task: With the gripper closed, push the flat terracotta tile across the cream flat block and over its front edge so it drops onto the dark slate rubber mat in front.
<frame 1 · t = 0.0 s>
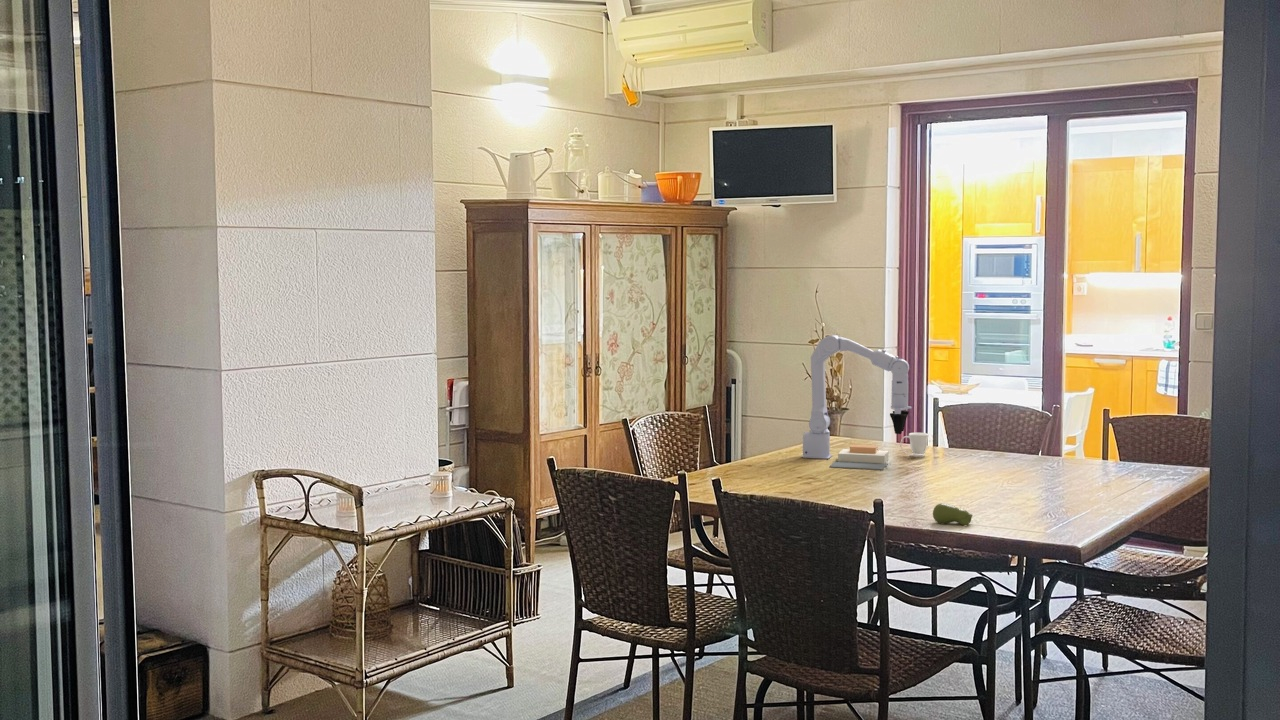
hand: (899, 432, 408), 10 cm above the table, tool pointing down, fingers open, 7 cm apart
cream flat block: (863, 460, 410), on the table
pear: (952, 524, 306), on the table
cup: (914, 456, 421), on the table
tile: (863, 451, 411), point 3 cm above the table, touching cream flat block
mat: (858, 466, 398), on the table
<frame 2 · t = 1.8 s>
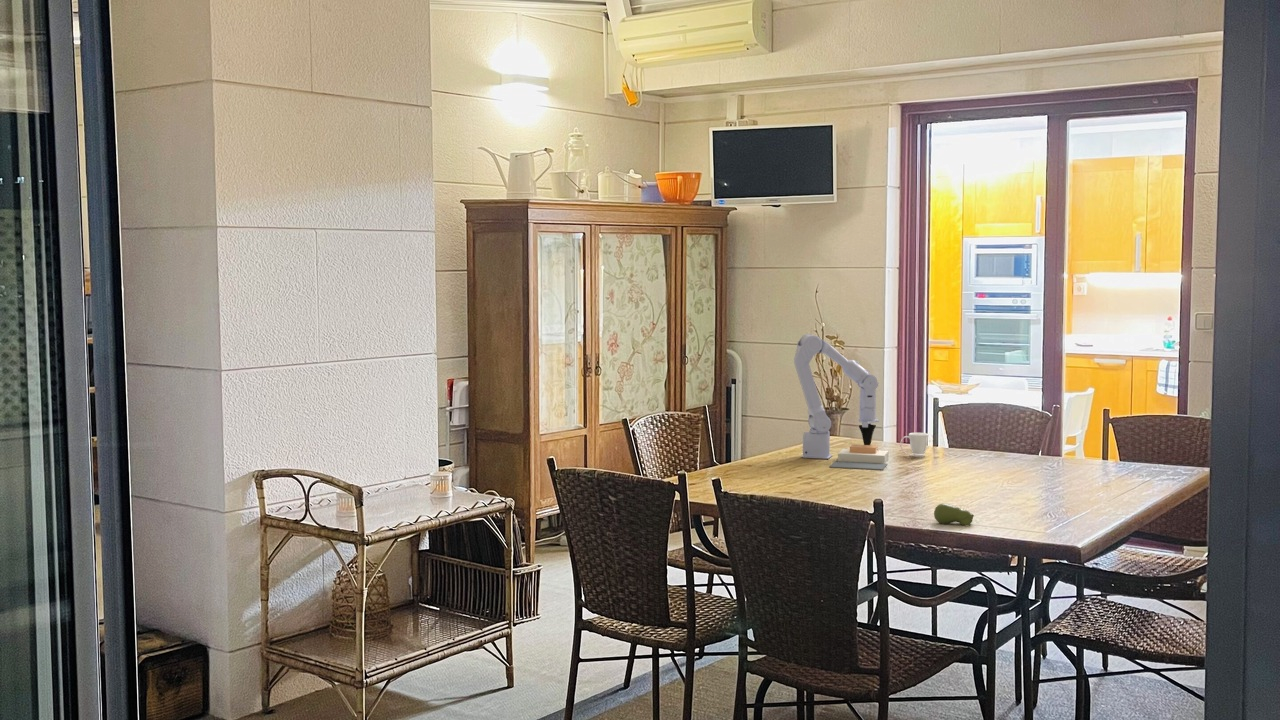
hand: (867, 445, 419), 4 cm above the table, tool pointing down, fingers closed
nothing on the table moved.
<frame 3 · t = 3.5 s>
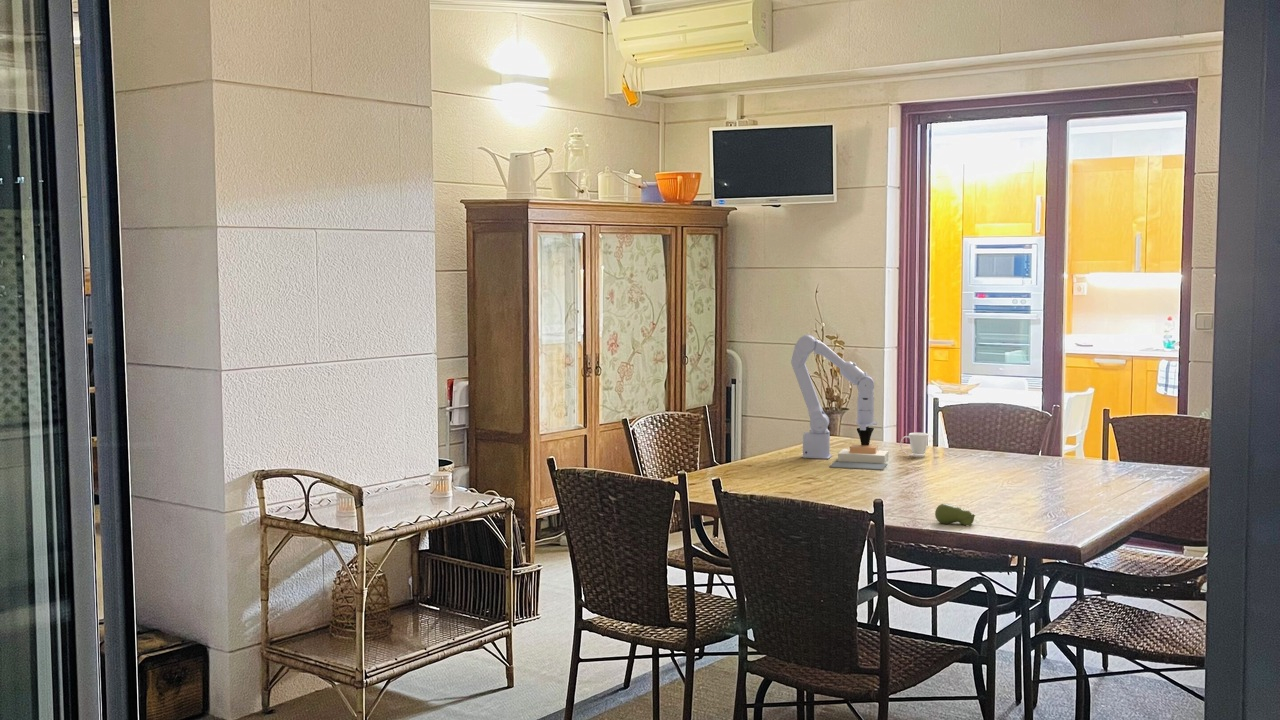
hand: (865, 448, 414), 4 cm above the table, tool pointing down, fingers closed
tile: (863, 452, 410), point 3 cm above the table, touching cream flat block, gripper
everything else where it was.
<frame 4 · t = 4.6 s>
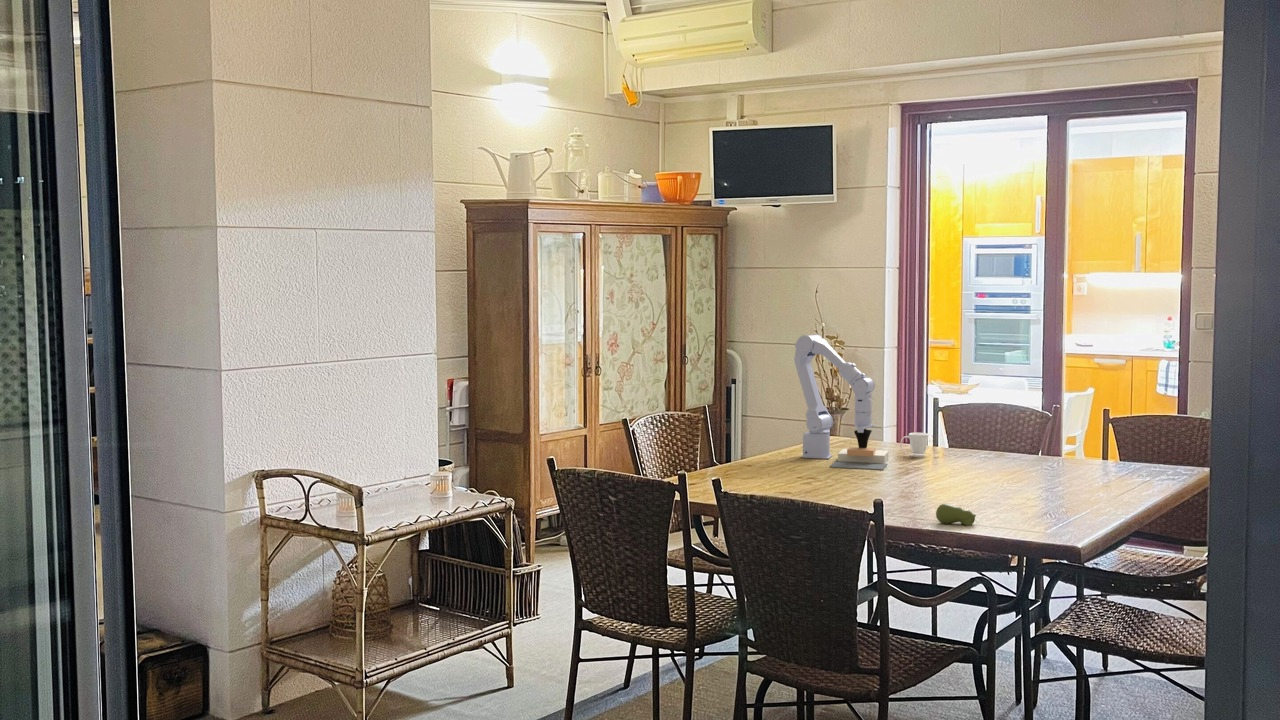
hand: (862, 450, 408), 4 cm above the table, tool pointing down, fingers closed
tile: (861, 454, 404), point 3 cm above the table, touching cream flat block, gripper
everything else where it was.
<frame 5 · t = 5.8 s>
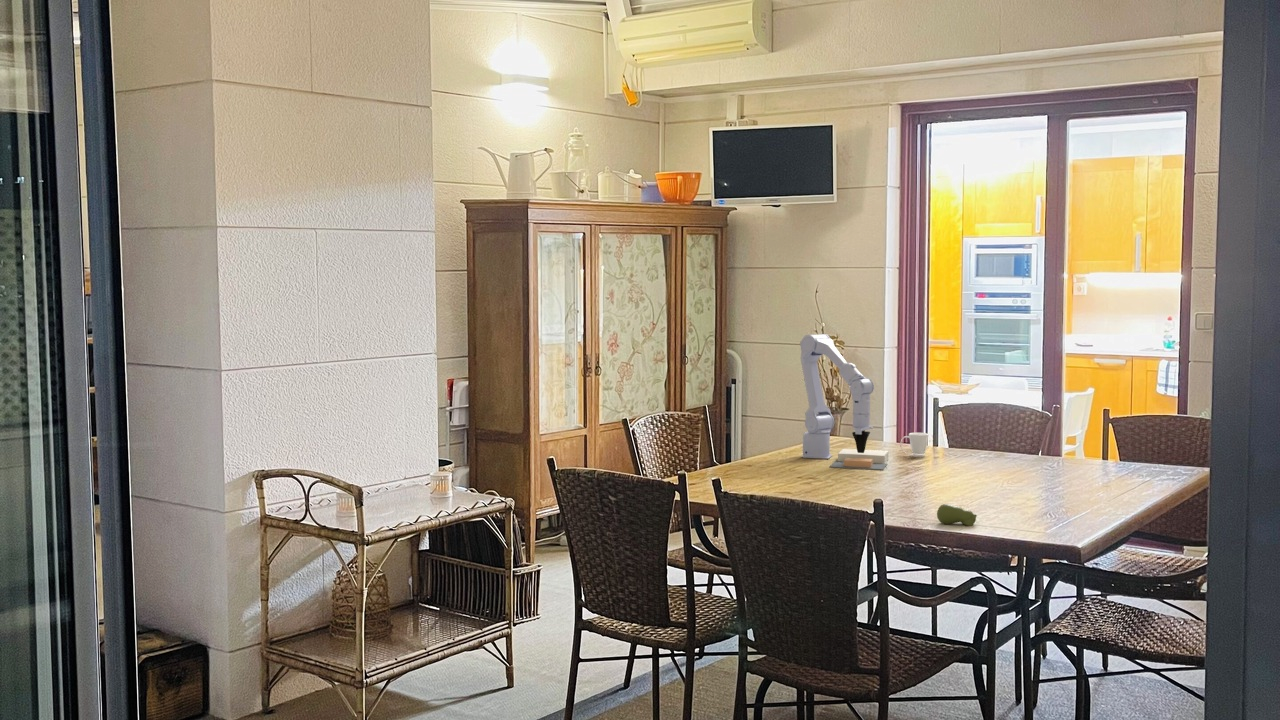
hand: (860, 452, 403), 4 cm above the table, tool pointing down, fingers closed
tile: (858, 459, 397), point 2 cm above the table, tilted 180°, touching mat
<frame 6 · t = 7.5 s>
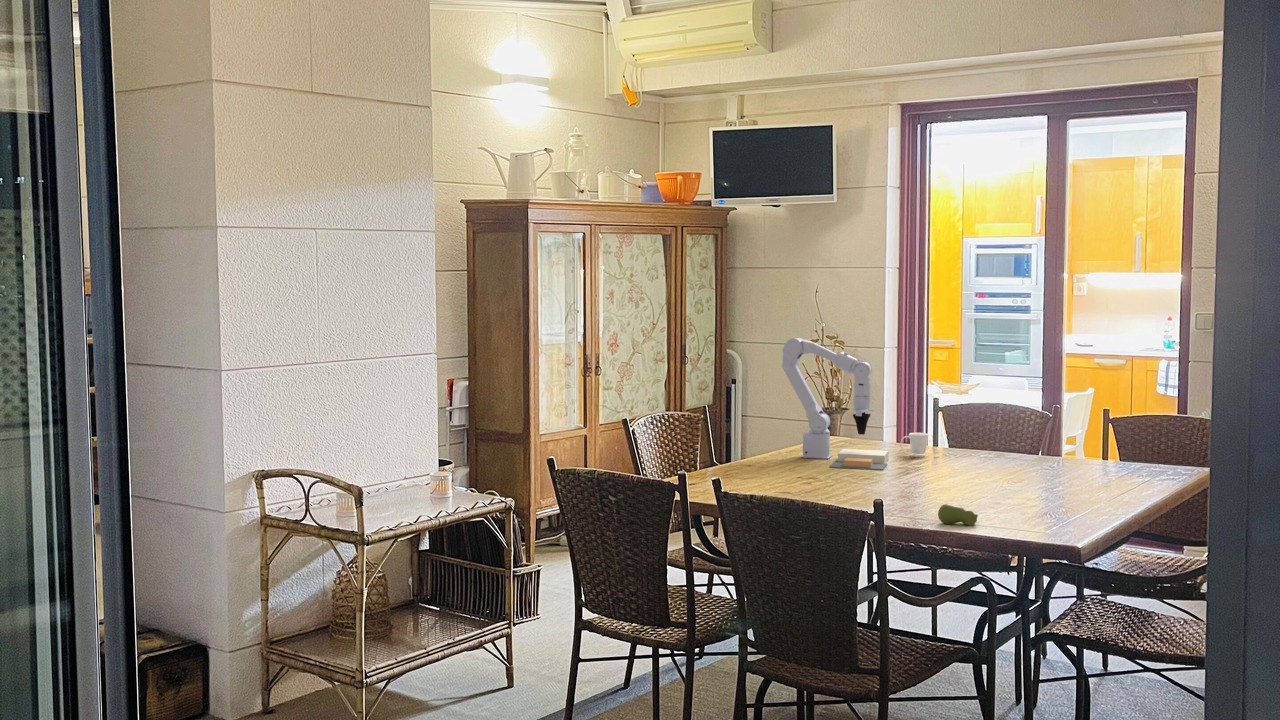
hand: (861, 434, 413), 9 cm above the table, tool pointing down, fingers closed
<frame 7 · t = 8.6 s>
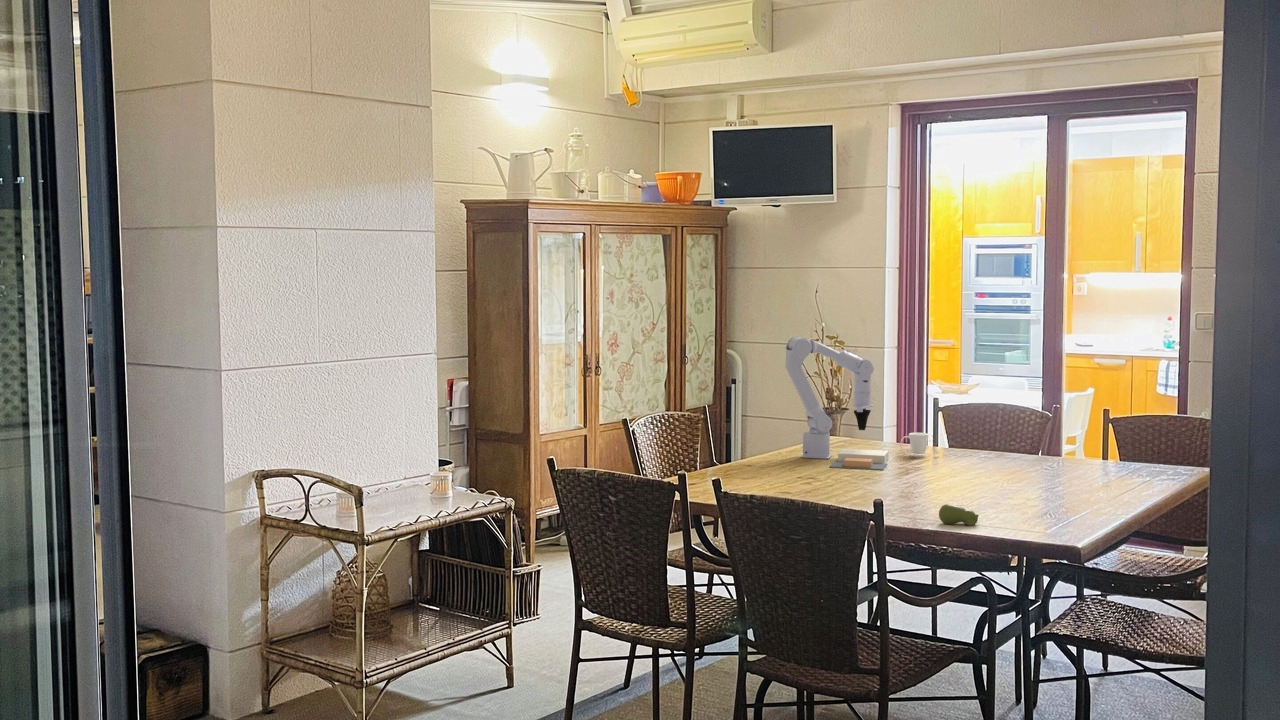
hand: (862, 429, 420), 9 cm above the table, tool pointing down, fingers closed
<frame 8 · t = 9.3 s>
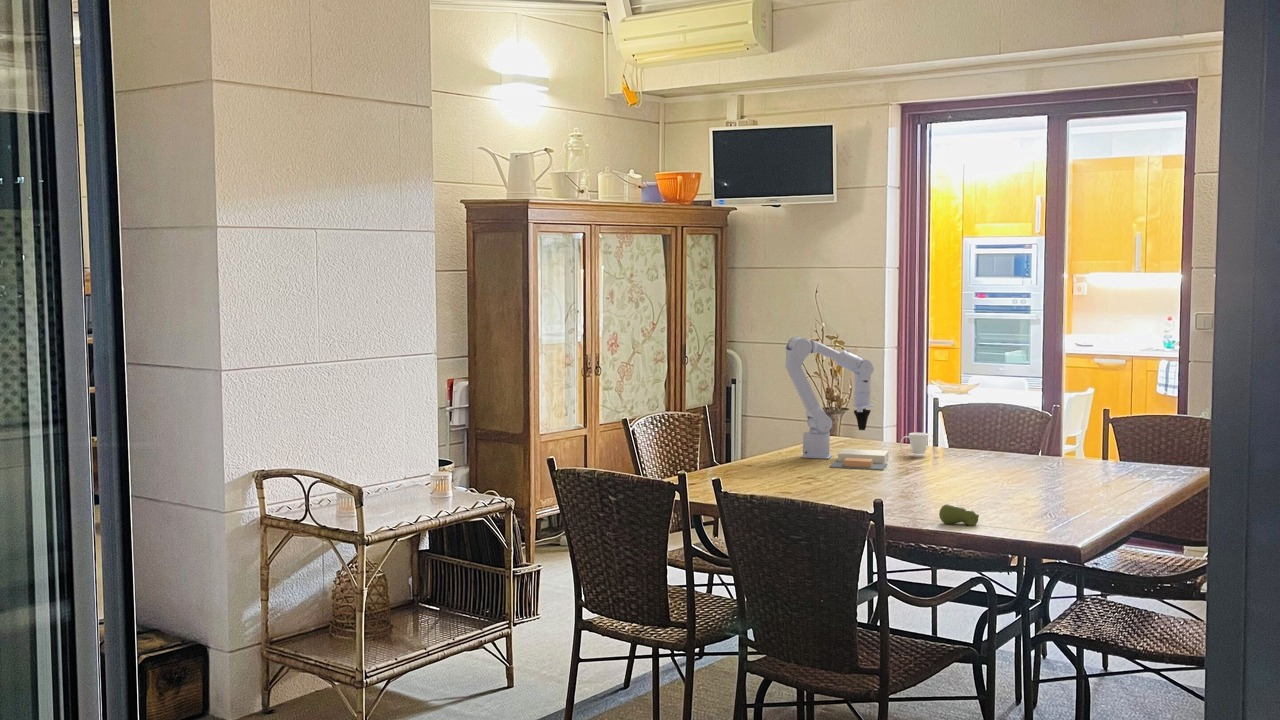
hand: (862, 429, 420), 9 cm above the table, tool pointing down, fingers closed
at the end: tile point 2.4 cm above the table; tile inside the target area on the mat (0.6 cm from its centre), point 2.4 cm above the mat's base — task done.
